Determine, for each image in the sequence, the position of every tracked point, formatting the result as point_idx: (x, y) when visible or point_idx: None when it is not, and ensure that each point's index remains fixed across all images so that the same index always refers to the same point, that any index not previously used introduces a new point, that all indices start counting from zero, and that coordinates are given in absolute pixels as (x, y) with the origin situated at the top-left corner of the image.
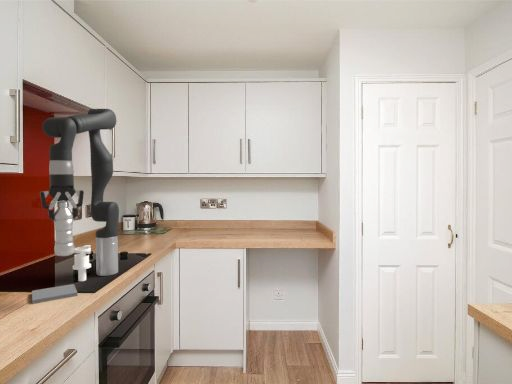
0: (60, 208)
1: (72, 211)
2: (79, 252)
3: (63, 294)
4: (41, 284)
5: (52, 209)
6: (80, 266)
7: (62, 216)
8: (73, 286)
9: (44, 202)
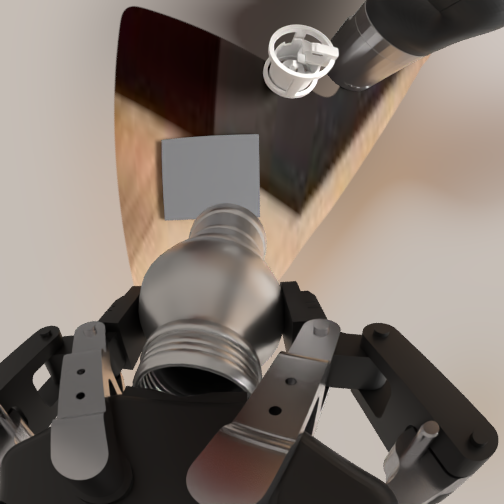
0: (183, 384)
1: (287, 324)
2: (291, 77)
3: None
4: (186, 70)
5: (122, 364)
6: (285, 88)
7: (206, 370)
8: (255, 157)
9: (52, 407)
